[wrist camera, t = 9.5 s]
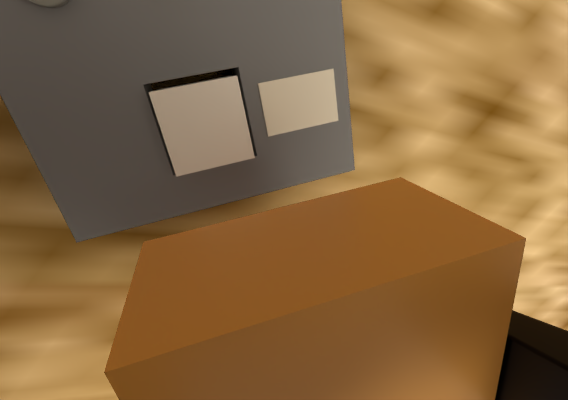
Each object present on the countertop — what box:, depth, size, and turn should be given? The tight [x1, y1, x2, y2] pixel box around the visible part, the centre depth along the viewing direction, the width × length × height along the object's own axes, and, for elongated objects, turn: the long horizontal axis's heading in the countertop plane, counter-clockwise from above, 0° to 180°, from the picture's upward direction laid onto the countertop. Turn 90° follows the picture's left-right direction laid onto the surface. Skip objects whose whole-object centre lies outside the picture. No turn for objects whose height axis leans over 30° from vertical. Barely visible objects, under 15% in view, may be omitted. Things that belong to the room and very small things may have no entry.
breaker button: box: [149, 76, 255, 177], centre depth 14 cm, size 3×3×4 cm
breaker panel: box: [0, 0, 355, 242], centre depth 14 cm, size 14×12×3 cm
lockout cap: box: [104, 177, 526, 400], centre depth 8 cm, size 7×7×4 cm
